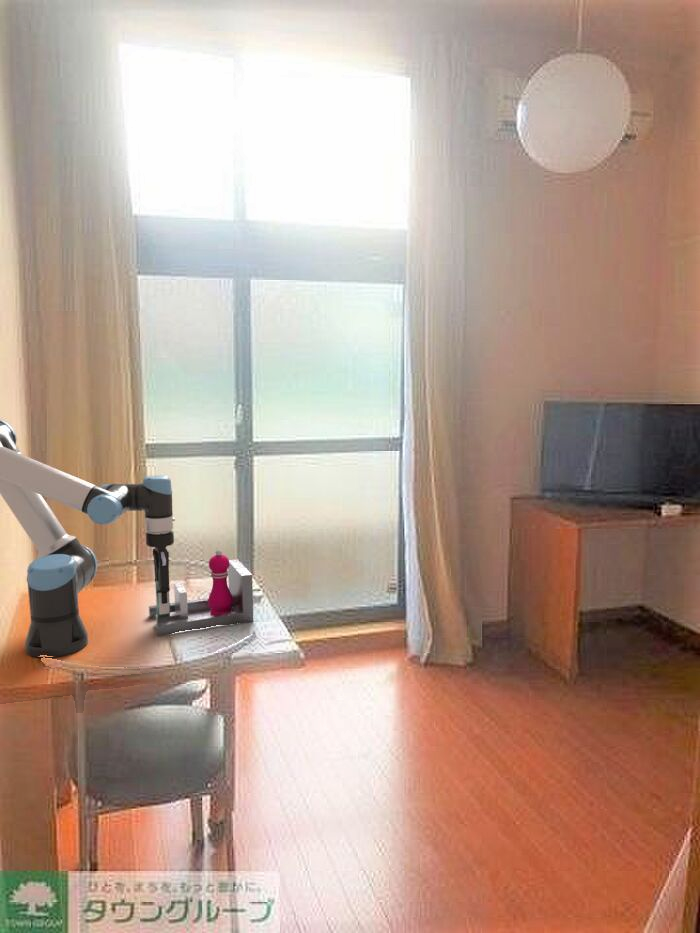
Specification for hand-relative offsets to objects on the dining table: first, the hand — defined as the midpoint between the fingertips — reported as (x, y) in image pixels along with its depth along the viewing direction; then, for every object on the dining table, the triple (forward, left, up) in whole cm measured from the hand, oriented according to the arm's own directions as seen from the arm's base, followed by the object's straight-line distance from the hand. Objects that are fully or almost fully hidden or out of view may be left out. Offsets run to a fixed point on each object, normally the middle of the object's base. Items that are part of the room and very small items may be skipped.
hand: (163, 610), depth 192 cm
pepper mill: (+16, 0, -4) cm, 17 cm away
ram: (+2, 0, -4) cm, 4 cm away
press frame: (+10, 0, -4) cm, 11 cm away
